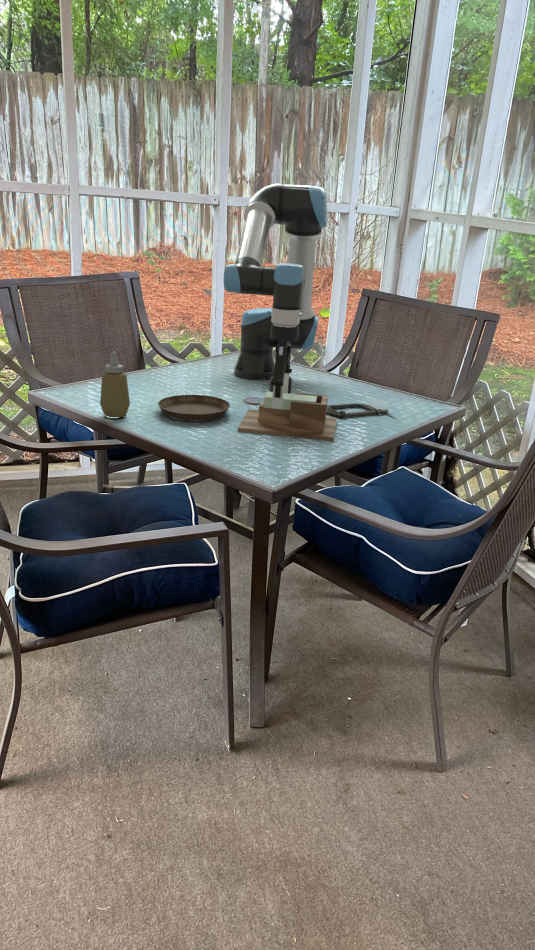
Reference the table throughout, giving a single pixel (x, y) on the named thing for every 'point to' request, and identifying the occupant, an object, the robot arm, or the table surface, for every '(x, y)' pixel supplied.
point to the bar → (288, 399)
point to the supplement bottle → (288, 384)
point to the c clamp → (343, 414)
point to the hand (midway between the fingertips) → (279, 401)
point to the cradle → (292, 420)
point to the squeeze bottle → (114, 389)
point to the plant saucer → (194, 407)
